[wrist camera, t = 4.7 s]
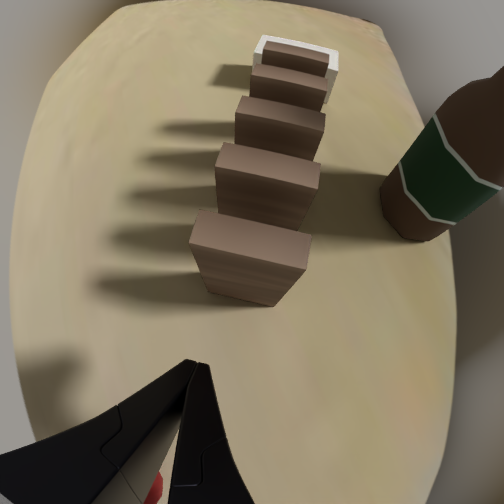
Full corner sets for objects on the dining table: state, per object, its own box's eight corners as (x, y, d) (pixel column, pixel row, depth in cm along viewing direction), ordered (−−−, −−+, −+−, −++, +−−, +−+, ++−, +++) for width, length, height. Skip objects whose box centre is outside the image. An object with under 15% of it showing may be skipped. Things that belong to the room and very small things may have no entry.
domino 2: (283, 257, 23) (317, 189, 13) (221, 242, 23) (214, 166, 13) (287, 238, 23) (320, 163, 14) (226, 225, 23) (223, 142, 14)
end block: (326, 103, 29) (338, 71, 24) (250, 86, 29) (253, 52, 25) (328, 81, 31) (338, 51, 26) (259, 66, 31) (262, 34, 26)
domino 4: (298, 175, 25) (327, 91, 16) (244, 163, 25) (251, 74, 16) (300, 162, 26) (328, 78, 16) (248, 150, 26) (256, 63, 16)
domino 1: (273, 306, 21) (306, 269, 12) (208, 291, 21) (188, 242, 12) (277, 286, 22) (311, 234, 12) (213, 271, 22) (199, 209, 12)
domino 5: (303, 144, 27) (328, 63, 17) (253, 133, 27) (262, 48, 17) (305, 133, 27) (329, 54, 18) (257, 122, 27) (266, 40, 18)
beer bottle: (416, 171, 27) (535, 6, 4) (449, 234, 25) (610, 90, 2) (363, 181, 26) (491, -39, 3) (398, 255, 23) (606, 63, 1)
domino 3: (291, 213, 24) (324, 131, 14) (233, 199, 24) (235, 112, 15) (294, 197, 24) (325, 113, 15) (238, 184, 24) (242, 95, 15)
